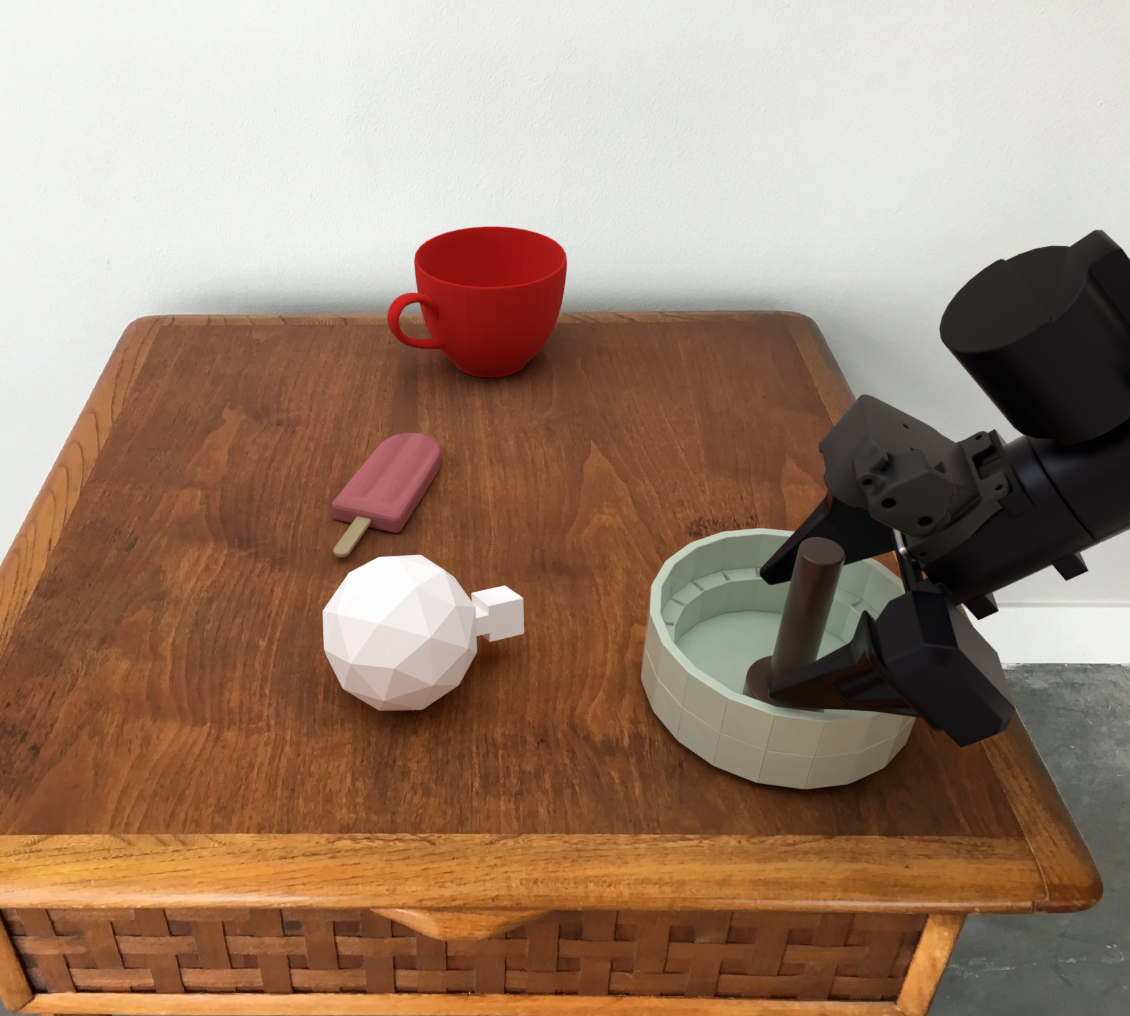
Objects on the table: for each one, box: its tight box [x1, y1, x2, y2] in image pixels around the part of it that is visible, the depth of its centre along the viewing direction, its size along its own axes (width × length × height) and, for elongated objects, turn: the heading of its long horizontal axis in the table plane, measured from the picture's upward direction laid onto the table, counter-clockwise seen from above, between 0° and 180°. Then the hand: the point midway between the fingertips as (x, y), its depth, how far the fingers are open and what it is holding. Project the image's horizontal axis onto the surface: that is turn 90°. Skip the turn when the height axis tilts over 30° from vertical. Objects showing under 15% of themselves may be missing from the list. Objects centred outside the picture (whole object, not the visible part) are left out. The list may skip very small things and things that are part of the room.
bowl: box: [640, 527, 917, 790], centre depth 58 cm, size 15×15×6 cm
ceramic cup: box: [386, 225, 568, 378], centre depth 88 cm, size 13×17×10 cm
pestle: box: [742, 537, 845, 713], centre depth 54 cm, size 4×4×12 cm
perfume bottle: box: [322, 554, 525, 712], centre depth 58 cm, size 9×9×12 cm
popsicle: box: [331, 432, 442, 558], centre depth 74 cm, size 5×2×15 cm
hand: (767, 634), depth 54 cm, fingers open, 9 cm apart
